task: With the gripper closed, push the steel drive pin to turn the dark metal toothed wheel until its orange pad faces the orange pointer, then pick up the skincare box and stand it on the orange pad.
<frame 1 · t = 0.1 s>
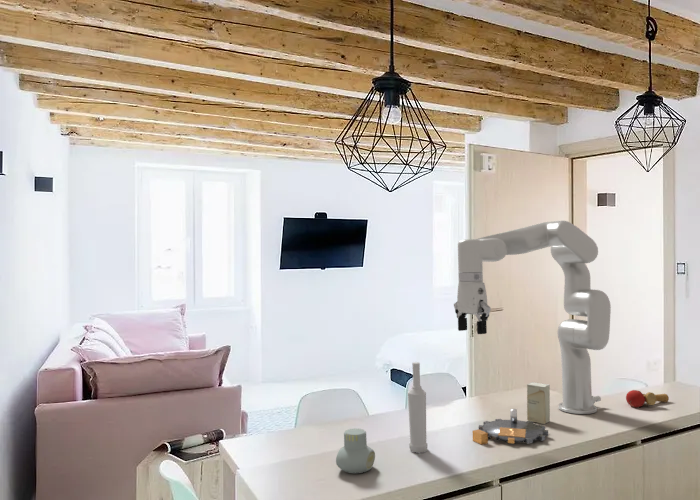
hand: (472, 332, 175), 31 cm above the kitchen counter, tool pointing down, fingers open, 9 cm apart
bottle: (418, 450, 158), on the kitchen counter
sprocket wheel: (512, 423, 169), point 3 cm above the kitchen counter, hinge at 45.0°
wheel stand: (513, 435, 169), on the kitchen counter
air freshener: (356, 470, 145), on the kitchen counter
skincare box: (539, 421, 182), on the kitchen counter
kendama: (647, 405, 198), on the kitchen counter
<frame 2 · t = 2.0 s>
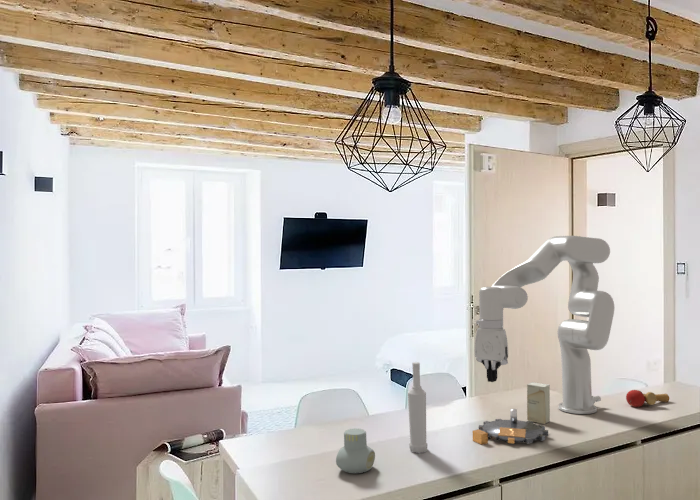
hand: (492, 381, 180), 14 cm above the kitchen counter, tool pointing down, fingers closed
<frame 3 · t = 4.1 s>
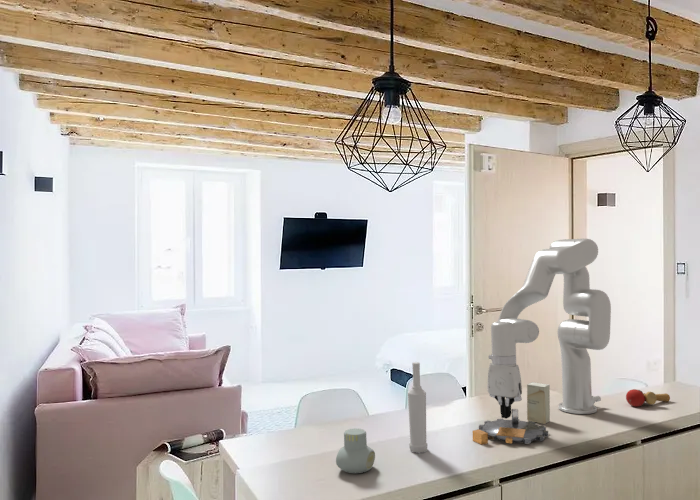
hand: (506, 417, 177), 3 cm above the kitchen counter, tool pointing down, fingers closed
sprocket wheel: (512, 423, 169), point 3 cm above the kitchen counter, hinge at 41.3°, touching gripper
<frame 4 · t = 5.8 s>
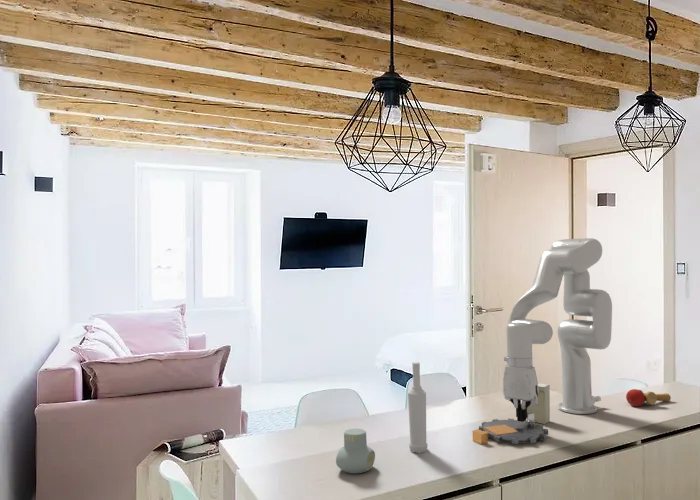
hand: (521, 420, 174), 3 cm above the kitchen counter, tool pointing down, fingers closed
sprocket wheel: (512, 423, 169), point 3 cm above the kitchen counter, hinge at -8.8°, touching gripper
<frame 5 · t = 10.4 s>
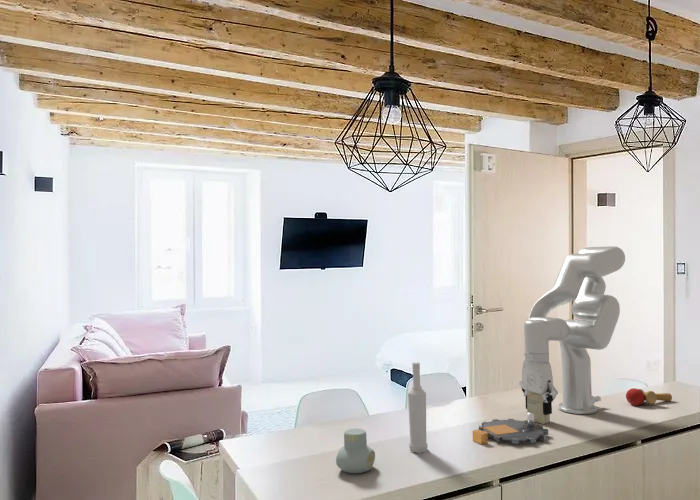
hand: (538, 410, 182), 3 cm above the kitchen counter, tool pointing down, fingers closed on skincare box, 7 cm apart
sprocket wheel: (512, 423, 169), point 3 cm above the kitchen counter, hinge at -8.8°
skincare box: (539, 421, 182), on the kitchen counter, touching gripper
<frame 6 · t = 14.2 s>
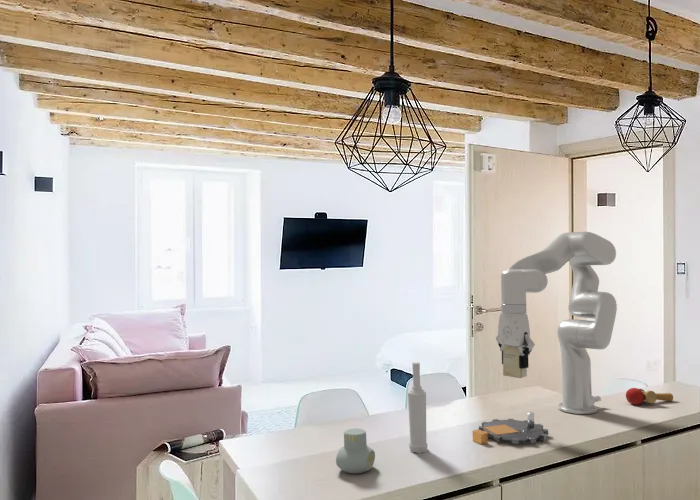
hand: (514, 365, 174), 20 cm above the kitchen counter, tool pointing down, fingers closed on skincare box, 7 cm apart
skincare box: (515, 376, 174), point 17 cm above the kitchen counter, touching gripper
when the fingers open (6 cm above the kitchen counter, at t = 18.1 s): skincare box stays where it is, resting on sprocket wheel.
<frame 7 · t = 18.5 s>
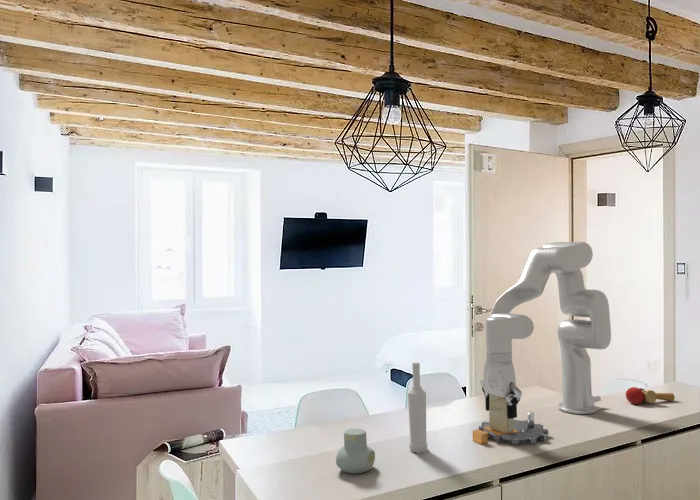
hand: (501, 413, 168), 7 cm above the kitchen counter, tool pointing down, fingers open, 9 cm apart
sprocket wheel: (512, 423, 169), point 3 cm above the kitchen counter, hinge at -8.8°, touching skincare box
skincare box: (502, 430, 168), point 2 cm above the kitchen counter, touching sprocket wheel
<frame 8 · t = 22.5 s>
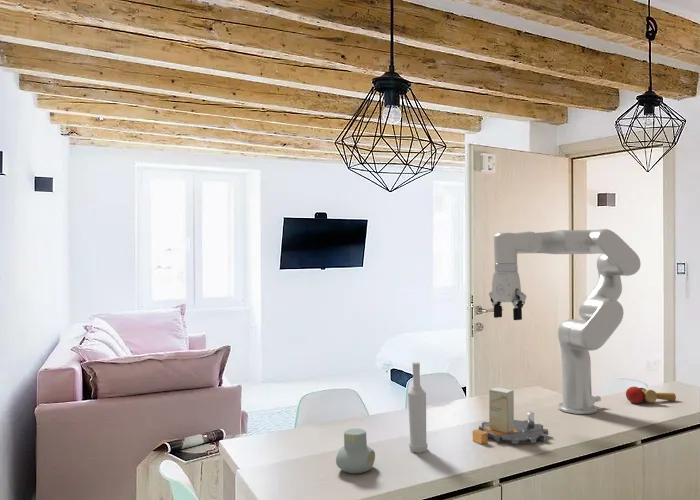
hand: (507, 318, 189), 33 cm above the kitchen counter, tool pointing down, fingers open, 9 cm apart
at the end: sprocket wheel at -9° (first picture: +45°); skincare box 0.3 cm from the target spot on the sprocket wheel, point 2.0 cm above the sprocket wheel's base; skincare box tilted 0° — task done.
